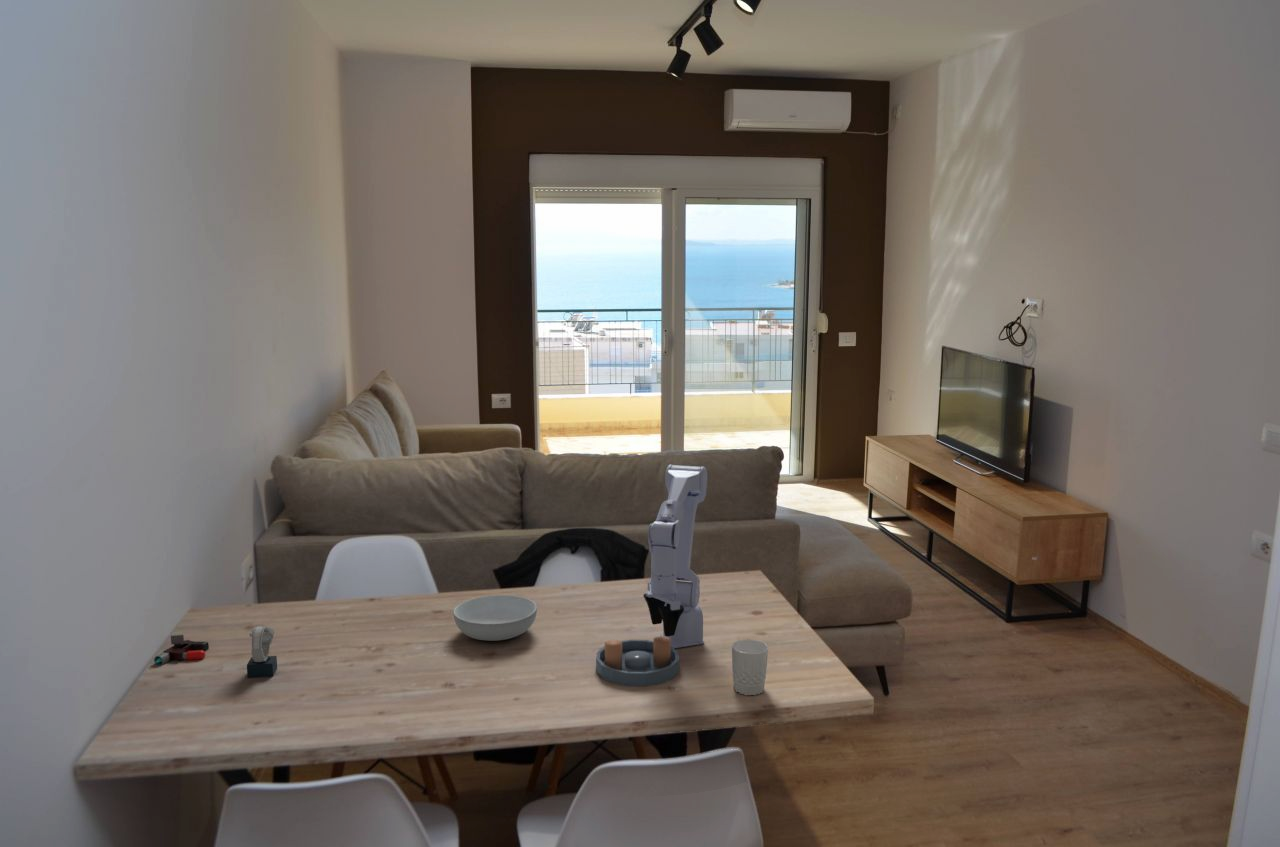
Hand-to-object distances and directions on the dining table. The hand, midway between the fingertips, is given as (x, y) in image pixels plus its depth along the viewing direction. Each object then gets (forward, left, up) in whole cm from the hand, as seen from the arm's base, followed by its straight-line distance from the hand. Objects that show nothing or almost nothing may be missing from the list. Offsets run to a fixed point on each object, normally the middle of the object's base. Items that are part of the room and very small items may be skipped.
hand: (663, 629), depth 220 cm
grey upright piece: (+86, -30, -10) cm, 92 cm away
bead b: (0, 0, -8) cm, 8 cm away
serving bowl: (+32, -34, -10) cm, 47 cm away
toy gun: (+104, -46, -10) cm, 114 cm away
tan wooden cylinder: (+11, -2, -8) cm, 14 cm away
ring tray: (+6, -2, -9) cm, 11 cm away
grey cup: (-14, +17, -10) cm, 24 cm away
